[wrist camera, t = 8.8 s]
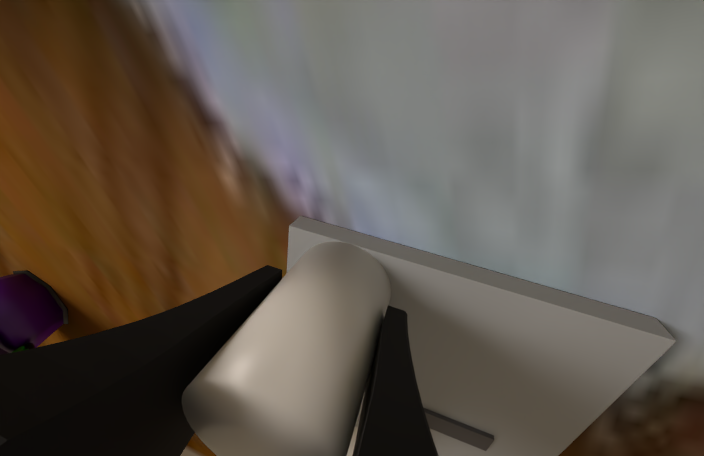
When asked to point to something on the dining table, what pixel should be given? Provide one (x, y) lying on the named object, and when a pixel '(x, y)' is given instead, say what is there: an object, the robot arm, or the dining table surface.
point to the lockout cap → (296, 361)
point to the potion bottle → (27, 312)
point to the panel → (502, 349)
